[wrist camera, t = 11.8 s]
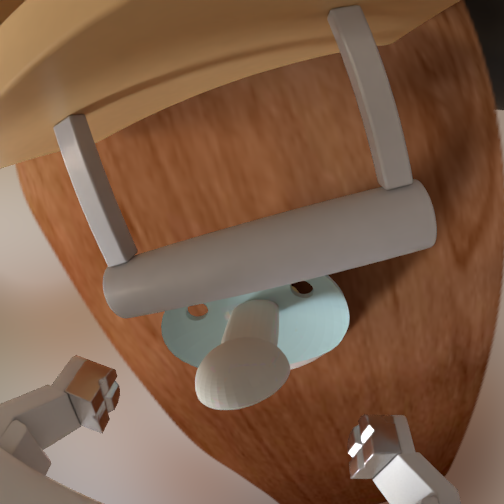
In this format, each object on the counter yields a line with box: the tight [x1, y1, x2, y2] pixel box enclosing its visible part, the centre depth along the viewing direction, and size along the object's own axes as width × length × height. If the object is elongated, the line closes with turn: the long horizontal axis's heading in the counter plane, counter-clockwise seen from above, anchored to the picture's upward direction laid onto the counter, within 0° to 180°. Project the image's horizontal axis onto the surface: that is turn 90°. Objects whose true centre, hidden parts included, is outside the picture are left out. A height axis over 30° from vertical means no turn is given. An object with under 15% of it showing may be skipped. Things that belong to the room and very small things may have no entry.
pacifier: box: [161, 275, 350, 410], centre depth 11 cm, size 7×6×6 cm
